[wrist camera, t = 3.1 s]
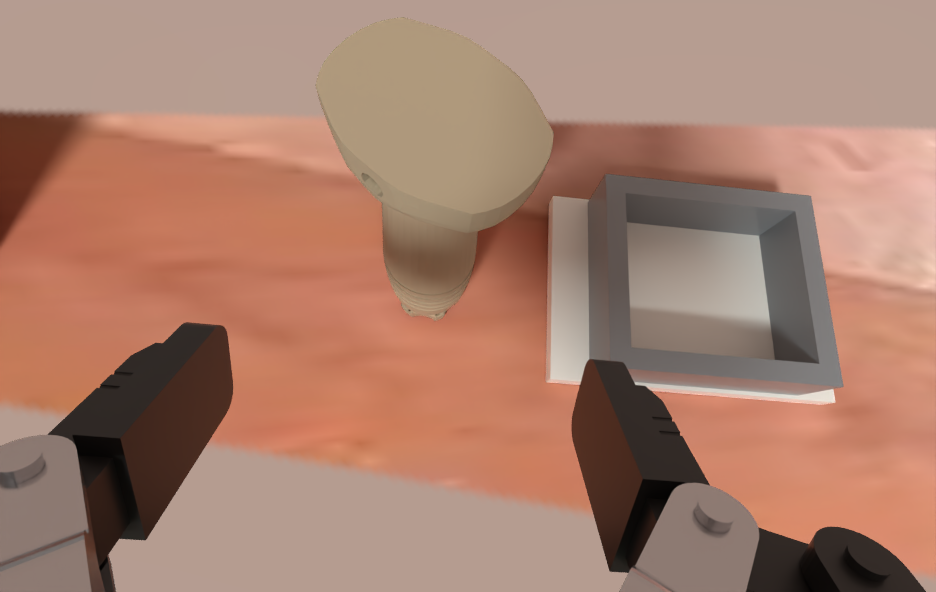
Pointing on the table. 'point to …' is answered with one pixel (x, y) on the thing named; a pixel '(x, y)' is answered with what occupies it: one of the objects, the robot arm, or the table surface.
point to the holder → (691, 290)
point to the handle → (432, 148)
